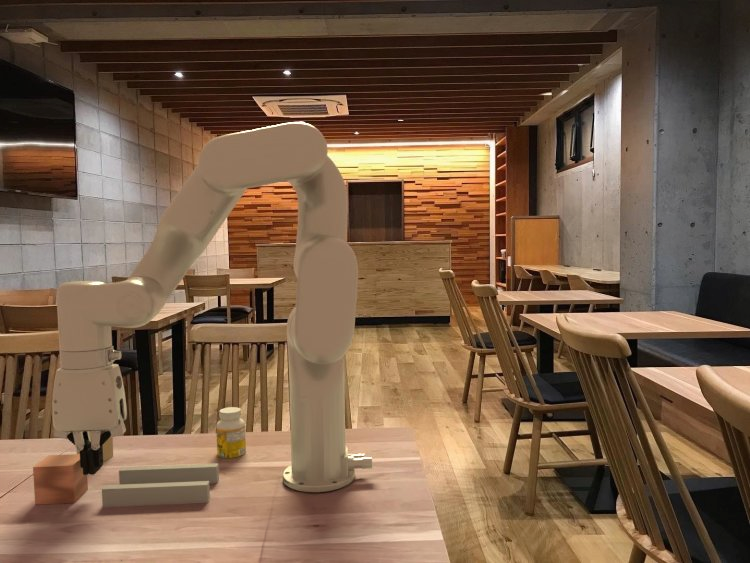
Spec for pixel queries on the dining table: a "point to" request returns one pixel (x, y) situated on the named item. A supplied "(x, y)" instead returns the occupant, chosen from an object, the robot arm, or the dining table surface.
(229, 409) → the supplement bottle
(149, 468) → the chute
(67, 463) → the block
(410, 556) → the dining table surface
